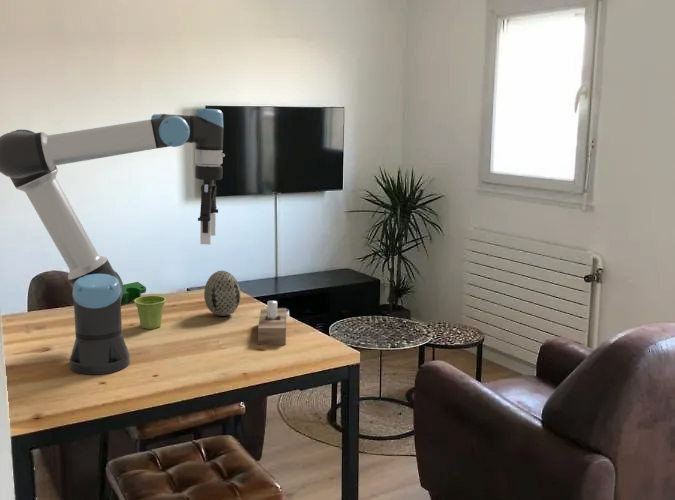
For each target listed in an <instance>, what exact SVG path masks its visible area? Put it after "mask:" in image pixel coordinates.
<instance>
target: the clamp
mask: <svg viewBox="0 0 675 500" xmlns="http://www.w3.org/2000/svg"><path fill="white" fill-rule="evenodd" d="M146 292H147V287H146V286H145V285H144V284H142V283H140V282H139V281H135V282H130V283H125V284H124V283H123V295H122V300H121V304H122V303H123V304H124V305H125V306H126V305H128V303H129V301H132V300H133V301H134V300H135V299H136V298H139V297H142V296H141V295H142V294H145V293H146Z"/></svg>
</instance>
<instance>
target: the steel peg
mask: <svg viewBox="0 0 675 500" xmlns="http://www.w3.org/2000/svg"><path fill="white" fill-rule="evenodd" d="M266 303H267V320H277V309H278V300H268V301H267V302H266Z"/></svg>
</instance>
